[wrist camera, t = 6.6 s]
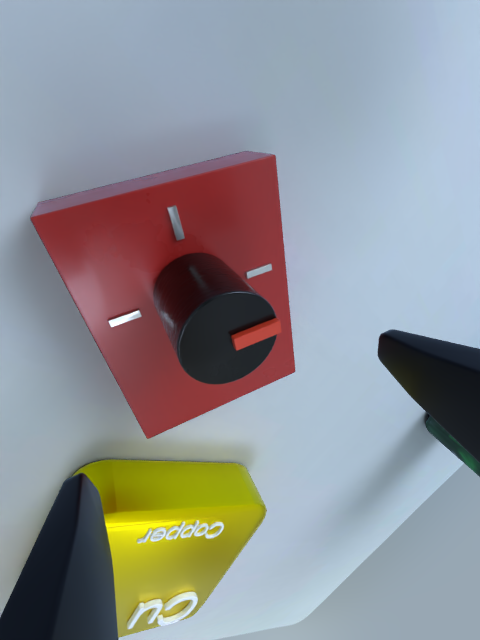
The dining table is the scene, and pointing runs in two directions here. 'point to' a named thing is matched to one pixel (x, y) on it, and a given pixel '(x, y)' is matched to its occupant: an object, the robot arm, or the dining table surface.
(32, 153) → the dining table surface
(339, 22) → the dining table surface
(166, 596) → the element tile
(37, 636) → the robot arm
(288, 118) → the dining table surface
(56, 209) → the dial panel
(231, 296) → the knob
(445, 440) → the coffee jar
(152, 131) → the dining table surface
